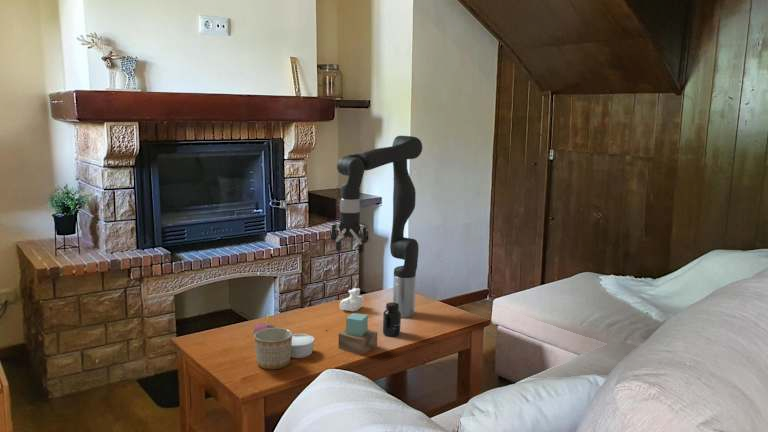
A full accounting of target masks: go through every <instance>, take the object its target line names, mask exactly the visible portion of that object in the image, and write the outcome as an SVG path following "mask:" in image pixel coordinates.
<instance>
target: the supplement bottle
mask: <svg viewBox="0 0 768 432" xmlns="http://www.w3.org/2000/svg"><path fill="white" fill-rule="evenodd" d="M385 304H386V305H385V310H384V311H383V315H382V316H383V317H382V334H383V335H384V336H385V337H398V336H399V335H400V334H401V324H402V323H401V312H400V311H399V310H398V309H399V304H398V303H394V302H393V301H392V302H391V301H390V302H386V303H385Z"/></svg>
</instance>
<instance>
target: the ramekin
mask: <svg viewBox="0 0 768 432" xmlns="http://www.w3.org/2000/svg"><path fill="white" fill-rule="evenodd" d="M315 339H316V338H315V337H314V336H312V335H309V334H305V333H292V344H291V355H290V358H294V359H303V358H307V357H310V356H311V354H312V353H313V349H314V345H315V342H316V341H315Z"/></svg>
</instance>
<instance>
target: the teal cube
mask: <svg viewBox="0 0 768 432" xmlns="http://www.w3.org/2000/svg"><path fill="white" fill-rule="evenodd" d="M368 316H369V315H368V314H362V313H355V312H354V313H353V312H352V313H351V314H350V315H348V316H347V317H346V318H345V320H346V323H345V324H346V325H345V330H346V334H348V335H355V336H363V335H364V334H365V333H366V332H367V329H368Z"/></svg>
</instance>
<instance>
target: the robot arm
mask: <svg viewBox="0 0 768 432" xmlns="http://www.w3.org/2000/svg"><path fill="white" fill-rule="evenodd" d="M391 145H392V146H387V147H379V148H373V149H370V150H367V151H364V152H362V153H354V154H348V155H345V156H342V157H341V158H339V160H338V161H337V163H336V170H337V171H338V173H339V174H341V175H342V176H348V177H347V178H348V179H347V182H343V183H342V184H341V185H340V203H339V224H337V223H333V224H332V225H331V235H330V240H332V241H335V250H336V251H337V252H338V253H339V252H341V251H342V241H341V240H342V239H343V238H344V237H345V238H354V239H355V240H356V241H357V243H358V246H357V247H358V248H357V249H358V252H357V254H359V255H361V254H362V253H363V252H364V245H365V244H366V243H368V242H369V226H367V225H365V226H361V200H360V199H361V198H360V195H361V194H360V192H361V191H360V190H361V189H360V188H361V185H362V181H363V178H364V174H365V171H370V170H373V169H377V168H380V167H382V166H385V165H388V164H392V166H393V167H392V168H393V189H392V190H393V192H392V194H393V195H392V197H393V198H392V207H393V208H392V226H391V227H392V228H391V235H390V246H389V247H390V248H389V249H390V255H391V256H392V257H393V258H395V259H398V260H404V262H403V265H400V266H399V265H398V266H396V267H394V269H393V285H392V286H393V289H392V290H393V292H392V293H393V296H392V302H394V303H398V304H399V309H398V310H399V311H400V312H401V318H412V317H414V316H415V306H416V277H417V276H416V275H417V269H418V261H419V260H418V259H419V248H420V247H419V242H418V240H416V239H415V238H410V237H406V236H405V235H404V233H405V232H404V231H405V226H406V223H407V222H408V221H409V218H410V217H411V216H412V213H414V210H415V207H416V200H417V199H416V193H417V192H416V188H415V184H414V183H413V179H411V177H410V174H409V170H408V160H416V159H417V158H418V157H419V156H421V155H422V151H423V143H422V141H421V140H420V138H418V137H416V136H411V135H398V136H396V137H395V138H394V140H393V142H392V144H391ZM338 230H339V231H340V233H339V235H338V234H337V233H338ZM360 231H361V233H362V235H361V233H360ZM337 235H338V236H337Z"/></svg>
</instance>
